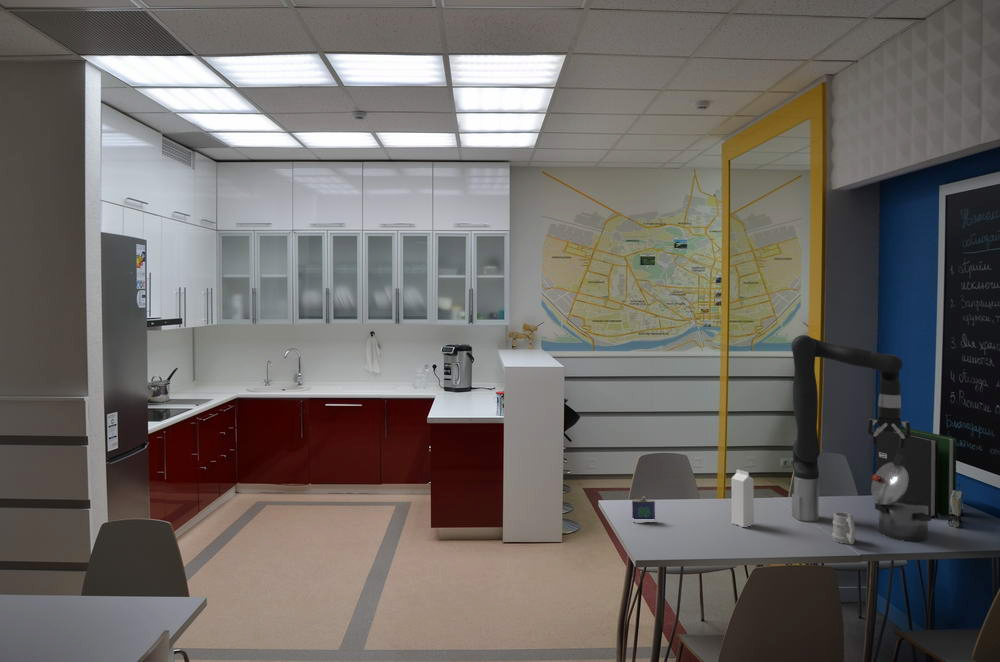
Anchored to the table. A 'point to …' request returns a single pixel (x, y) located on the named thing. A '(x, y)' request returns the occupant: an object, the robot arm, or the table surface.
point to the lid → (890, 482)
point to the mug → (843, 528)
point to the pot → (904, 520)
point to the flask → (643, 509)
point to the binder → (923, 466)
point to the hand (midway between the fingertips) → (888, 446)
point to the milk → (742, 499)
